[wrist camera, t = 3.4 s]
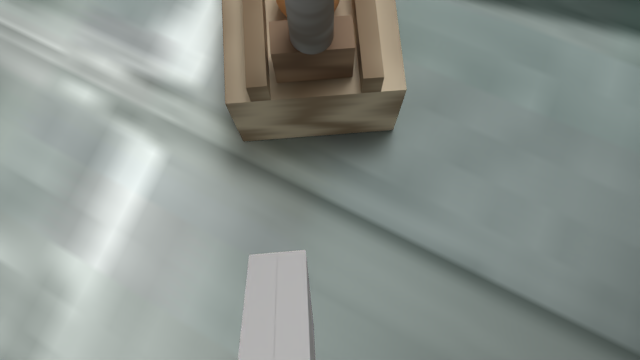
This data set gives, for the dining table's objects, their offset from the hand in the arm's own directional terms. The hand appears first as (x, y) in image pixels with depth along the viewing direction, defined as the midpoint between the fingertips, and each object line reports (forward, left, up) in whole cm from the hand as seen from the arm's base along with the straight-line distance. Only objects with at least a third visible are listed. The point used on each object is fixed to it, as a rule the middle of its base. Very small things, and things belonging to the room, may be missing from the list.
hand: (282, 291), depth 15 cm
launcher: (-1, -18, -22) cm, 29 cm away
